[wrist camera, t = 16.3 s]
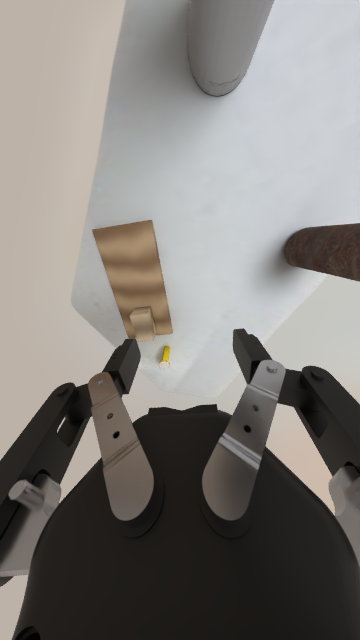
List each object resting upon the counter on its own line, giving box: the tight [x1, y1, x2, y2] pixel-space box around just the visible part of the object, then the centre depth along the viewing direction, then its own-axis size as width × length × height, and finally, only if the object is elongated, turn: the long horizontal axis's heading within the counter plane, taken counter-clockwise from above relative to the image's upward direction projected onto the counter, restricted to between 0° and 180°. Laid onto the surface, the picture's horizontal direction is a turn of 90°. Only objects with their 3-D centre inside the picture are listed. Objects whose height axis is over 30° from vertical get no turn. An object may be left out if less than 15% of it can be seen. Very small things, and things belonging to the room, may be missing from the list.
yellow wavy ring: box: [159, 347, 170, 369], centre depth 45 cm, size 6×3×6 cm, turn 167°
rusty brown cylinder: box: [285, 223, 360, 281], centre depth 25 cm, size 8×7×20 cm
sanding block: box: [130, 306, 157, 342], centre depth 39 cm, size 7×4×4 cm, turn 8°
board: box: [92, 220, 173, 338], centre depth 38 cm, size 26×12×2 cm, turn 8°
